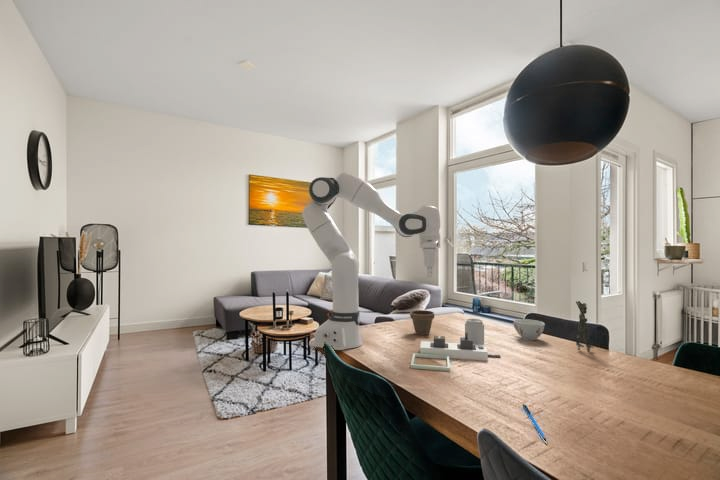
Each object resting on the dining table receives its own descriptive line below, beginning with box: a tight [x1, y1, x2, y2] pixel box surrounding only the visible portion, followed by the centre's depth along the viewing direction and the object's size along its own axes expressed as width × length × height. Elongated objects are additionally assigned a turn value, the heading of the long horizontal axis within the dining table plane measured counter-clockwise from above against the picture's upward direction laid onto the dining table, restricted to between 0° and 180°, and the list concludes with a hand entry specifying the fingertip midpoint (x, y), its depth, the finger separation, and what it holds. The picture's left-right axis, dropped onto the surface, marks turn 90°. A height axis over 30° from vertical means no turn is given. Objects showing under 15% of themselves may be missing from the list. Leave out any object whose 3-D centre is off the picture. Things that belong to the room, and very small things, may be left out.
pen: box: [522, 403, 547, 441], centre depth 85 cm, size 1×19×1 cm, turn 169°
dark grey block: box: [433, 335, 446, 348], centre depth 136 cm, size 4×4×6 cm
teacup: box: [512, 318, 546, 341], centre depth 161 cm, size 15×12×8 cm
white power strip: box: [419, 340, 501, 361], centre depth 134 cm, size 29×9×5 cm, turn 77°
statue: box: [575, 300, 595, 352], centre depth 142 cm, size 5×6×20 cm
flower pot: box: [409, 309, 435, 336], centre depth 170 cm, size 12×11×10 cm
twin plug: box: [459, 331, 473, 350], centre depth 134 cm, size 4×4×8 cm
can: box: [464, 318, 485, 345], centre depth 144 cm, size 8×8×12 cm
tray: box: [410, 352, 451, 372], centre depth 125 cm, size 13×13×2 cm
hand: (429, 276), depth 151 cm, fingers open, 8 cm apart
